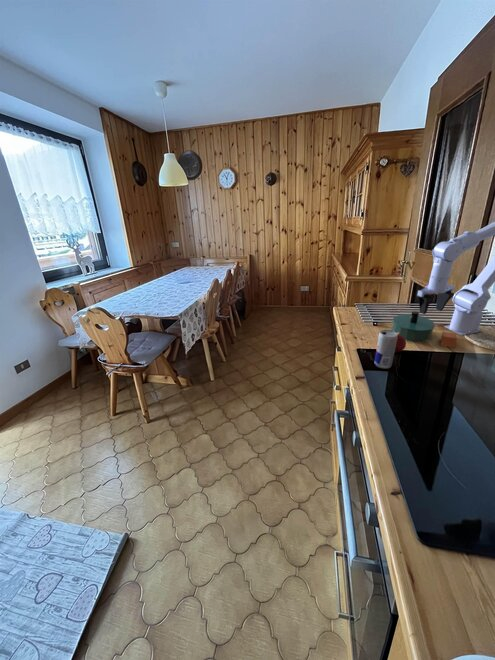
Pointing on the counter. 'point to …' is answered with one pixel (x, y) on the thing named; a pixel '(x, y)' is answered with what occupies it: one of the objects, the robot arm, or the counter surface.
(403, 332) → the tin
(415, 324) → the tin lid
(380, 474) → the counter surface
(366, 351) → the counter surface
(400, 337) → the onion
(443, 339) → the block
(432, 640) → the counter surface
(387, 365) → the energy drink
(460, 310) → the robot arm
